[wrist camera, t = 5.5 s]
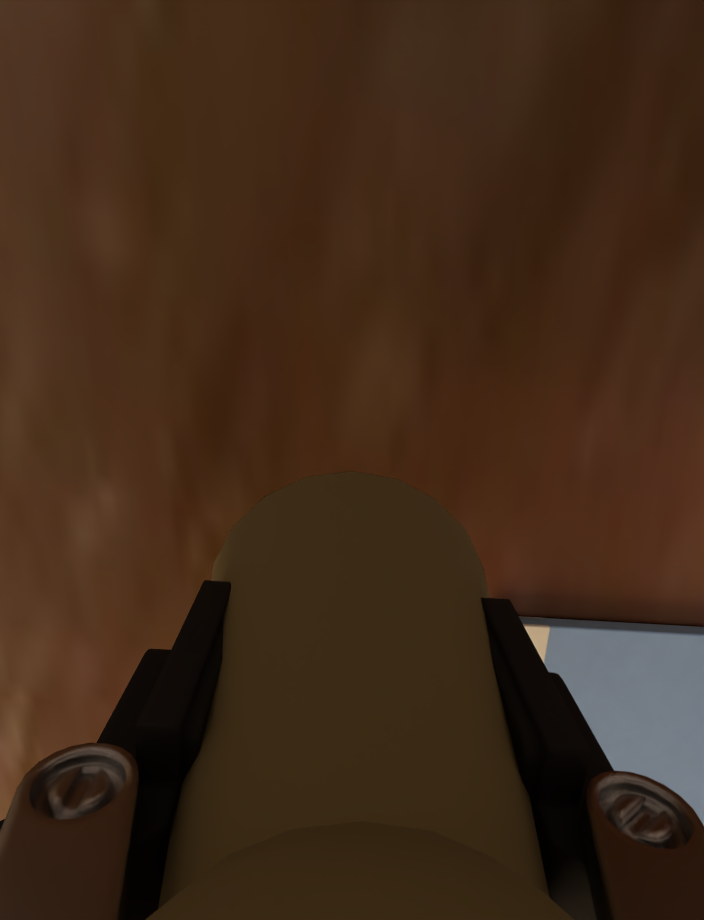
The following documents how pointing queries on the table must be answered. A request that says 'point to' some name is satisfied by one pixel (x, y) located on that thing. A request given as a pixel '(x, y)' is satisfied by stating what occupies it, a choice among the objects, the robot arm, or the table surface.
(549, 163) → the table surface
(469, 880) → the olive tall tapered piece
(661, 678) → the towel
